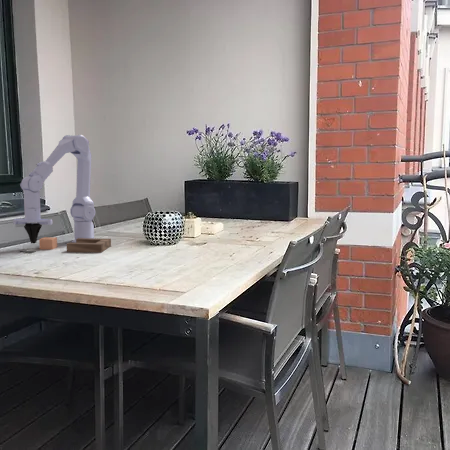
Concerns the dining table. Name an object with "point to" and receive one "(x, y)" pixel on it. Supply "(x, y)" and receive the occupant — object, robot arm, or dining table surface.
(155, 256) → the dining table surface
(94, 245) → the tray
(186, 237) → the dining table surface
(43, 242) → the key block
